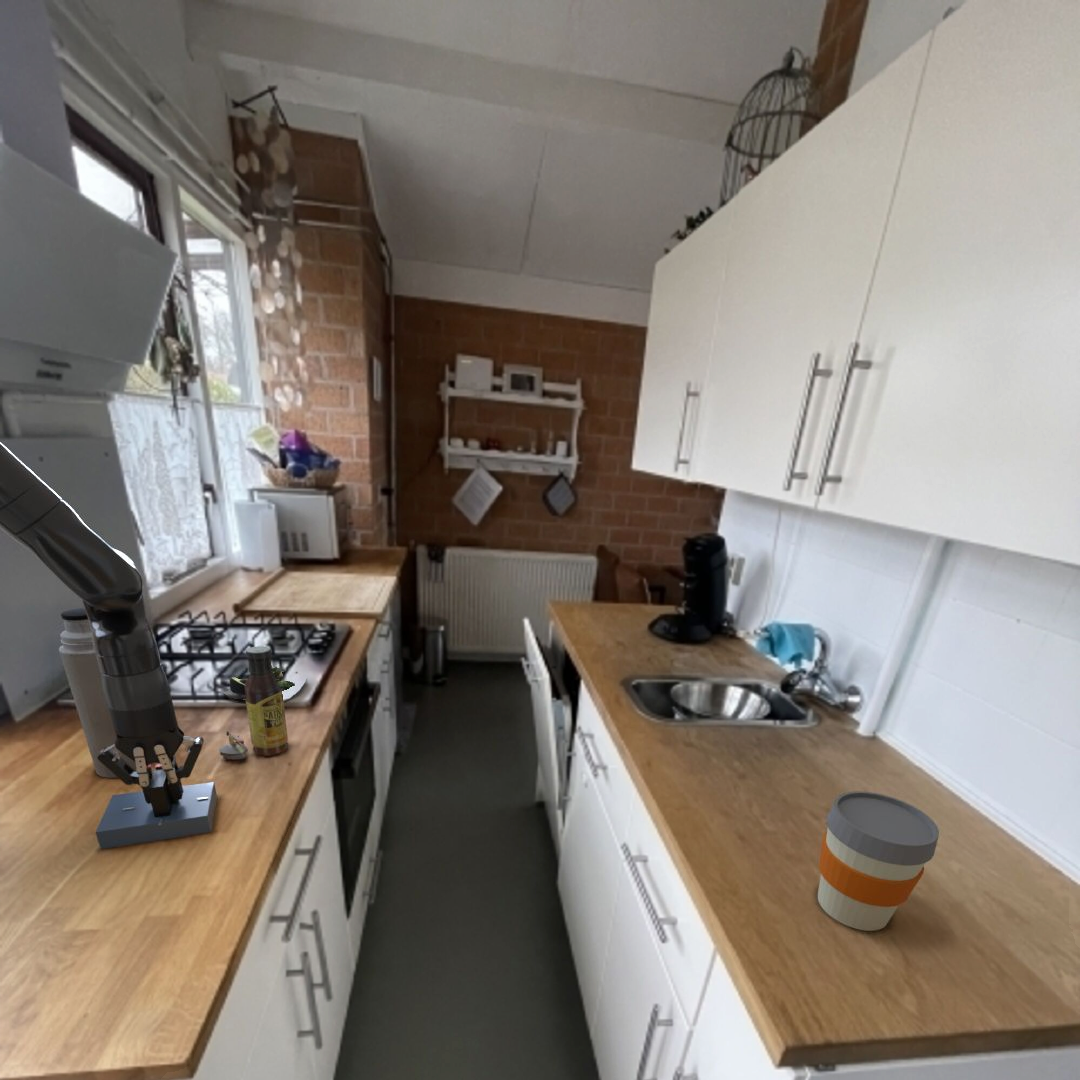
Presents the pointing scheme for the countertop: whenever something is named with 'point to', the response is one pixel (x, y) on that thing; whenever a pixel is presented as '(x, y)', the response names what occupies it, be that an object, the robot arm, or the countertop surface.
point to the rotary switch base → (137, 824)
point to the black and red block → (159, 793)
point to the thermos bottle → (87, 687)
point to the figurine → (234, 748)
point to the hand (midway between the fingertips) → (166, 801)
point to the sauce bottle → (264, 704)
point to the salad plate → (239, 684)
